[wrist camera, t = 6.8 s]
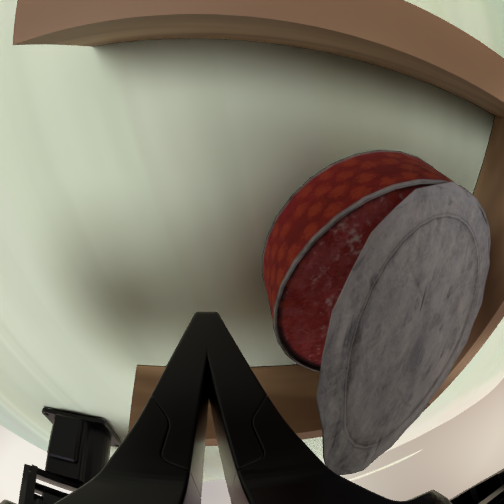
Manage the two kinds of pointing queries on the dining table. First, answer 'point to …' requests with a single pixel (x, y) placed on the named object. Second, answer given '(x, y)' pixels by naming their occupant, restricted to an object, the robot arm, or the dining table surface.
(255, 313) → the dining table surface
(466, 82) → the shelf bay
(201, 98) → the dining table surface
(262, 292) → the dining table surface
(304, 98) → the dining table surface
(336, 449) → the canned food
